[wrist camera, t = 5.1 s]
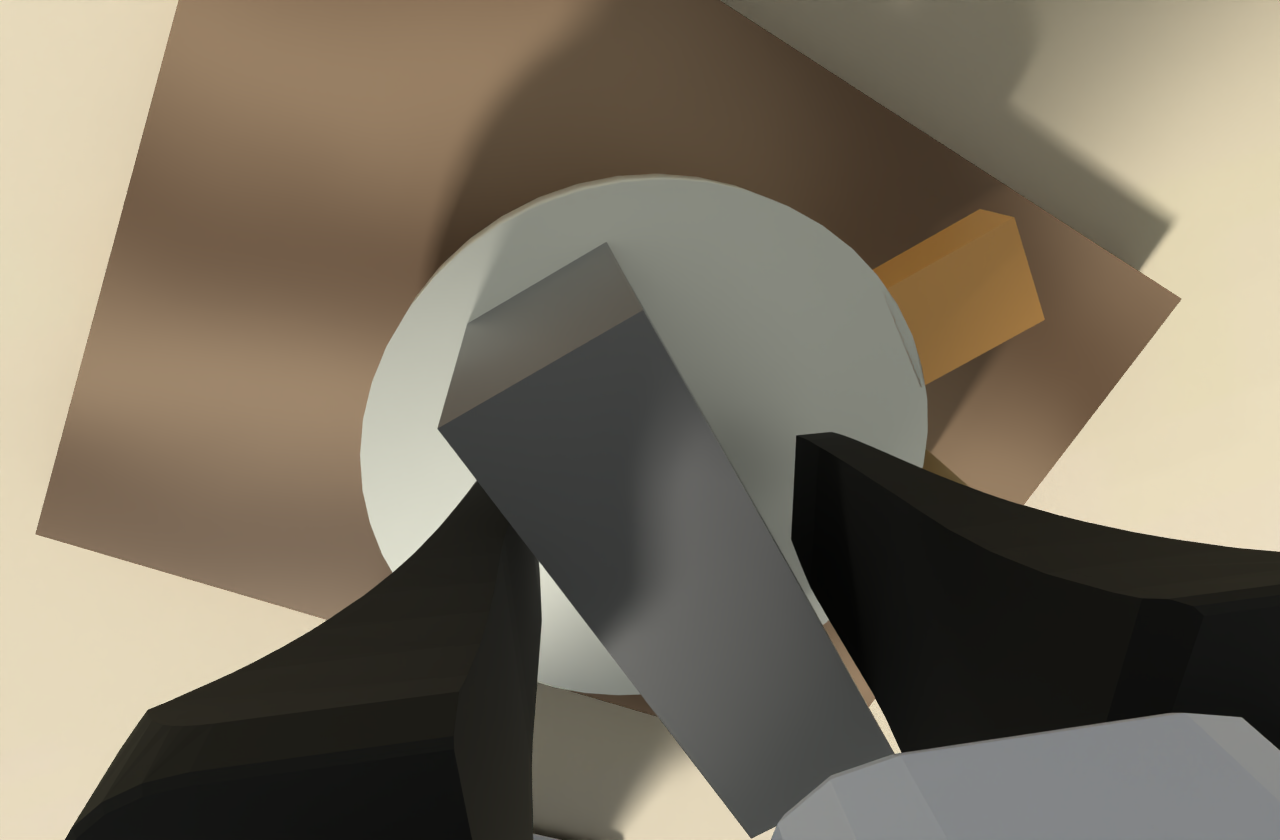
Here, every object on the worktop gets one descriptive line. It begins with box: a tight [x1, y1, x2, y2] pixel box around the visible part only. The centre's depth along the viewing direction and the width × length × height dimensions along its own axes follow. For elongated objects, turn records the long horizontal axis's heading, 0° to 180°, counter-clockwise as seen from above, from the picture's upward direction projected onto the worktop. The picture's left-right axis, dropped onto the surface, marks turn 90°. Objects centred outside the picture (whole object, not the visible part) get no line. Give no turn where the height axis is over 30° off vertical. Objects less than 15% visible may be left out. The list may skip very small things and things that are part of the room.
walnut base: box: [36, 0, 1181, 717], centre depth 15 cm, size 15×20×5 cm
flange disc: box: [360, 174, 1045, 838], centre depth 11 cm, size 12×10×5 cm
